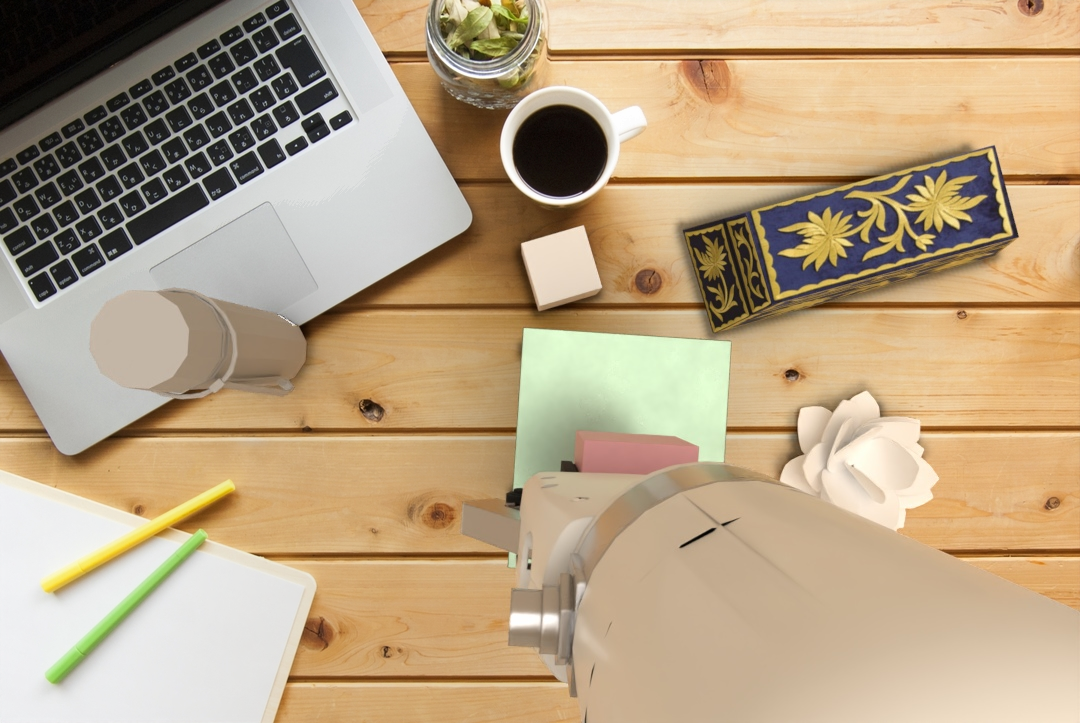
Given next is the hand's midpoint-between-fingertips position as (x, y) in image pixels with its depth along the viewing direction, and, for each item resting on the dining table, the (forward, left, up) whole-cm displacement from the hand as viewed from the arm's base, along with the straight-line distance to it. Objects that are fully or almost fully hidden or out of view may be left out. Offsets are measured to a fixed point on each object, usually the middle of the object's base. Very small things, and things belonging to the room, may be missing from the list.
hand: (623, 496), depth 36 cm
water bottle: (+6, +30, -37) cm, 48 cm away
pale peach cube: (+16, +3, -37) cm, 40 cm away
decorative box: (+21, -25, -37) cm, 49 cm away
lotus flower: (-1, -27, -37) cm, 46 cm away
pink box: (0, 0, 0) cm, 0 cm away
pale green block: (+1, -1, -37) cm, 37 cm away
